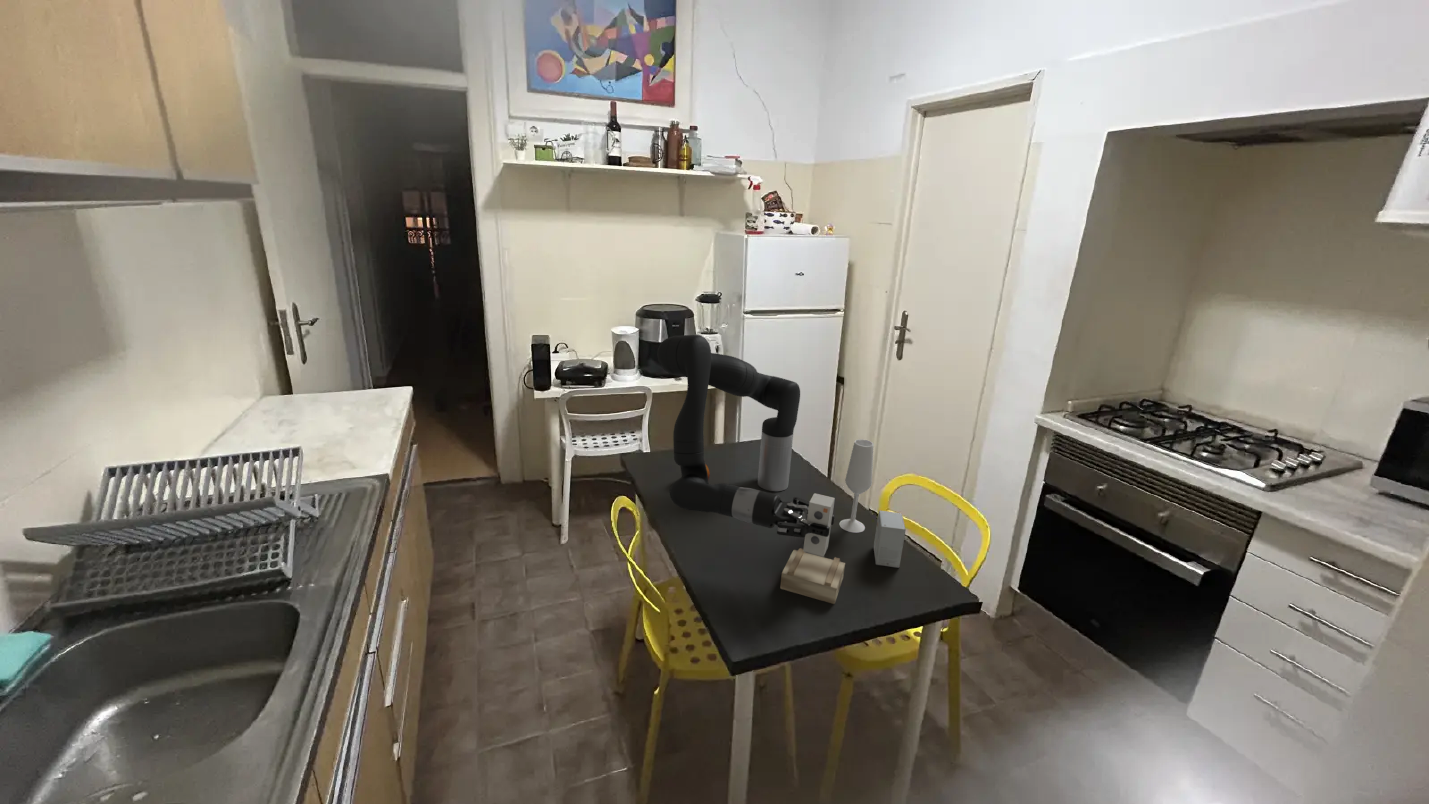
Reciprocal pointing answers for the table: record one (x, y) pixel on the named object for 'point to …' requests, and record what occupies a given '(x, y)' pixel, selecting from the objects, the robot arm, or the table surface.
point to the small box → (889, 539)
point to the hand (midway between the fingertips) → (831, 525)
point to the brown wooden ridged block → (813, 576)
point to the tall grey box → (820, 514)
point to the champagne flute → (858, 479)
